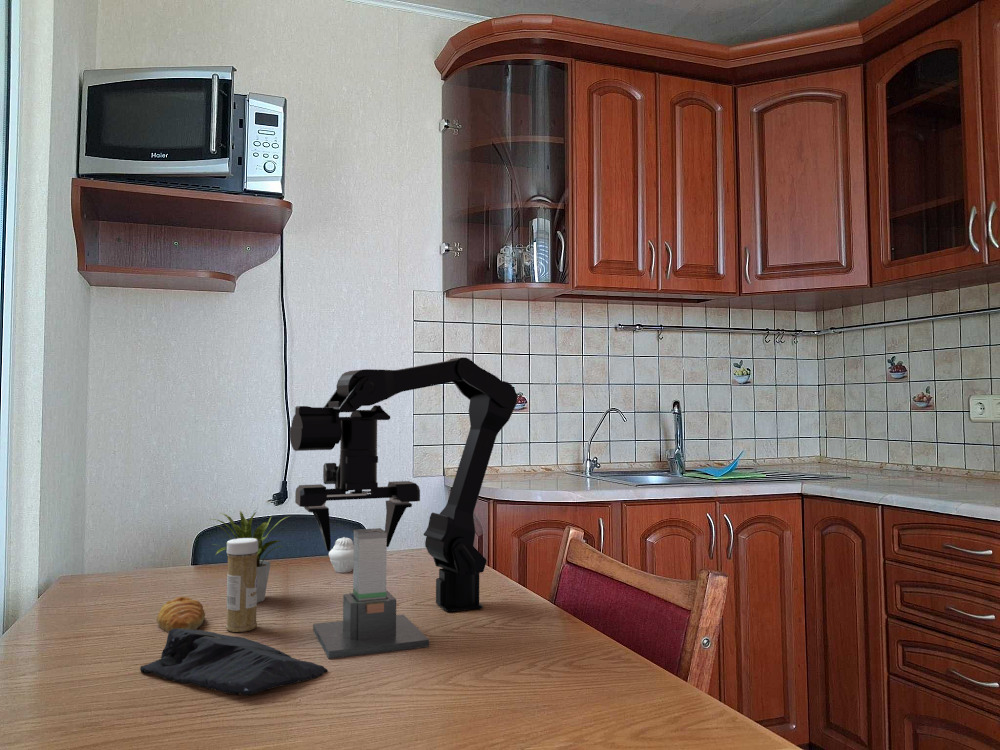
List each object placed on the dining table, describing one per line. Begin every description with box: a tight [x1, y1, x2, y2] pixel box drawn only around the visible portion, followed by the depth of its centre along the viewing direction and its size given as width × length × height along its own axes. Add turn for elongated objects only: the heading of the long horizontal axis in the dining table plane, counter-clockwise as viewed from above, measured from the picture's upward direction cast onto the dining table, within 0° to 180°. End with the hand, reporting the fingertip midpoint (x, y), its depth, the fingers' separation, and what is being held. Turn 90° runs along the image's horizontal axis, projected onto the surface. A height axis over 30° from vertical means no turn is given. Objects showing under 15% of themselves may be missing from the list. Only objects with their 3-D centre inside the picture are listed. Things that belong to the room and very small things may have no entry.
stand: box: [312, 590, 430, 660], centre depth 111 cm, size 14×14×6 cm
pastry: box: [156, 596, 206, 633], centre depth 117 cm, size 9×7×4 cm
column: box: [352, 527, 388, 602], centre depth 111 cm, size 4×4×10 cm
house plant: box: [210, 509, 291, 603], centre depth 133 cm, size 14×14×16 cm
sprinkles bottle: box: [225, 537, 258, 633], centre depth 116 cm, size 5×5×14 cm
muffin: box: [328, 536, 354, 574], centre depth 156 cm, size 6×6×7 cm
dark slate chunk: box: [139, 628, 329, 696], centre depth 97 cm, size 15×22×5 cm
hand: (357, 548), depth 119 cm, fingers open, 9 cm apart
